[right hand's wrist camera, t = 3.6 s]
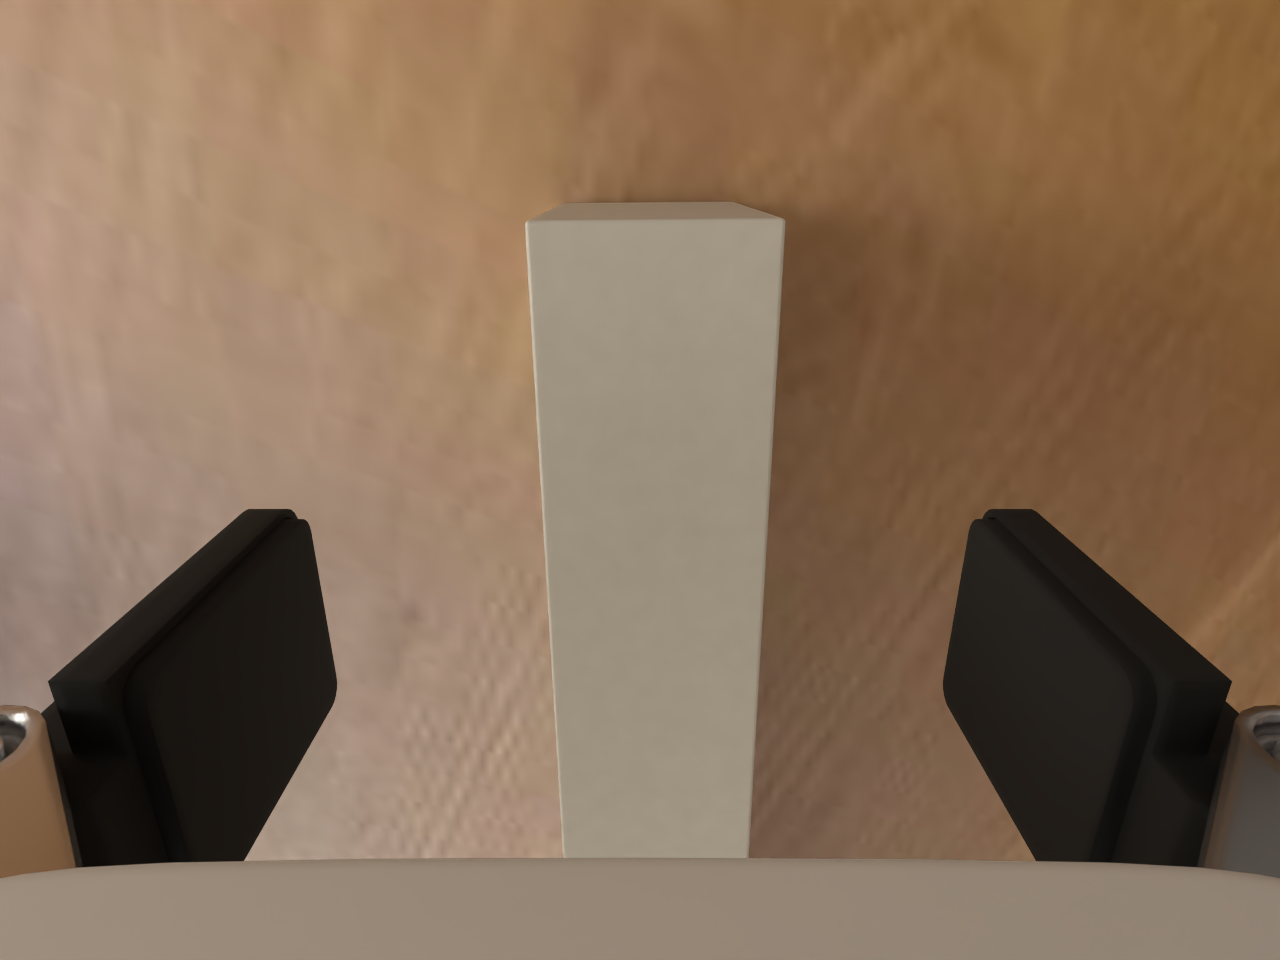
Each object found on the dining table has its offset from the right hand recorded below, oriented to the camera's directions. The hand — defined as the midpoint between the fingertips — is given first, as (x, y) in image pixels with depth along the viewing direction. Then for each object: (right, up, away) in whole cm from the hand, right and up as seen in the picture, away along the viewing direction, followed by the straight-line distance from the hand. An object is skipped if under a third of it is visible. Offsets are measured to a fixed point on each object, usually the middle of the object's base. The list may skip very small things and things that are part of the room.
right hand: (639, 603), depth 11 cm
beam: (0, -16, +20) cm, 26 cm away
